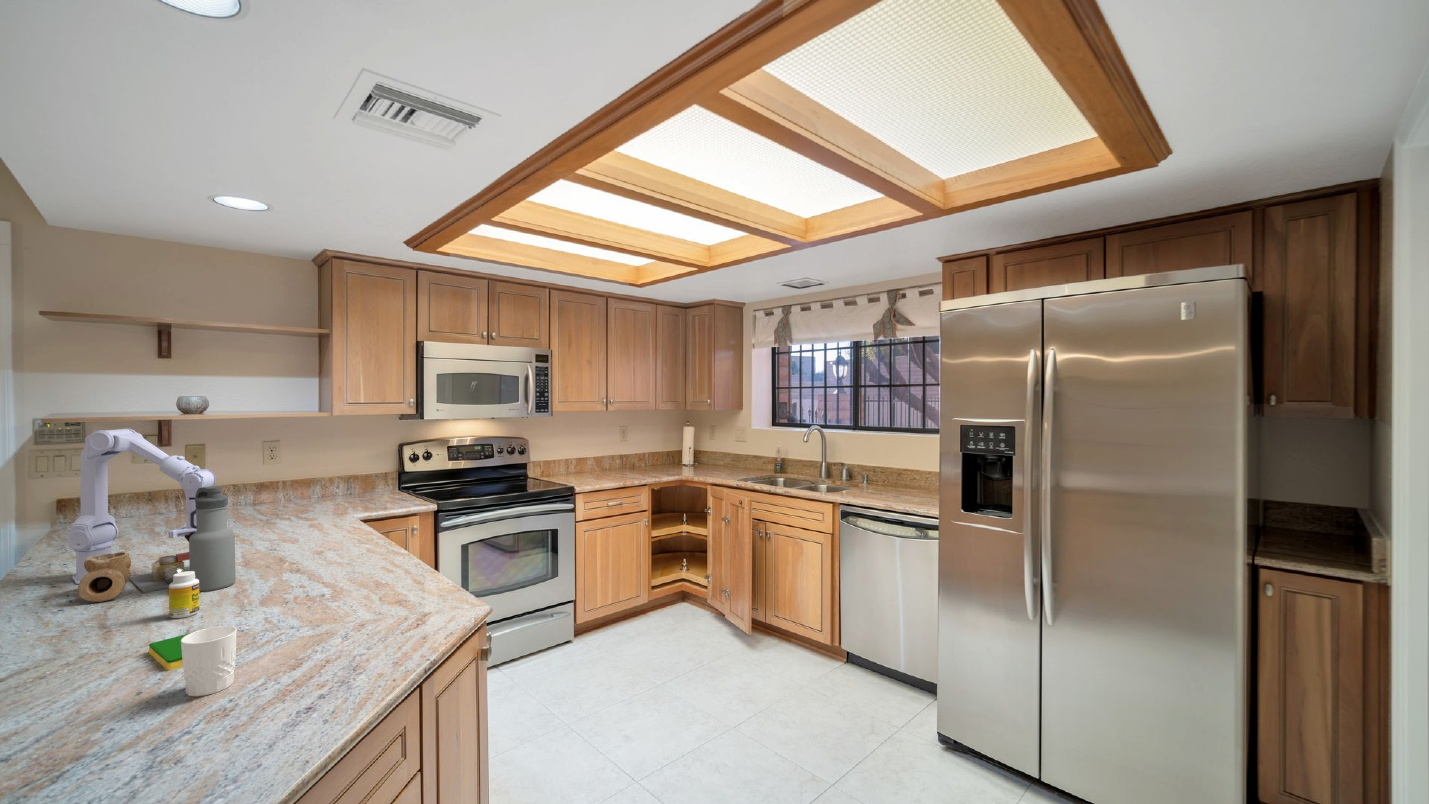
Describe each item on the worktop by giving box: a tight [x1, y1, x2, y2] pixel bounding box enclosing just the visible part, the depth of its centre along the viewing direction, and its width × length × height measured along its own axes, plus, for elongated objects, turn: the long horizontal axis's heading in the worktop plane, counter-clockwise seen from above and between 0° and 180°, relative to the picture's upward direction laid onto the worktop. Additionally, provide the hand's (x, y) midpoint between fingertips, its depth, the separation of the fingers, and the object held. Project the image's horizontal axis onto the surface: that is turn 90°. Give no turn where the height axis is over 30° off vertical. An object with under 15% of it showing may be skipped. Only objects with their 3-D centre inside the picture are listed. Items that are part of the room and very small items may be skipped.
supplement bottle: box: [168, 571, 201, 619], centre depth 145 cm, size 6×6×10 cm
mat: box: [129, 565, 190, 594], centre depth 173 cm, size 20×17×1 cm
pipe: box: [78, 551, 132, 603], centre depth 159 cm, size 9×16×10 cm, turn 39°
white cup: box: [181, 625, 238, 697], centre depth 110 cm, size 8×8×10 cm
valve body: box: [151, 559, 185, 585], centre depth 172 cm, size 16×6×5 cm, turn 53°
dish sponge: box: [148, 632, 192, 671], centre depth 123 cm, size 7×14×2 cm, turn 55°
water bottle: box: [188, 485, 237, 593], centre depth 165 cm, size 10×10×28 cm
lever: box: [158, 551, 189, 564], centre depth 175 cm, size 12×4×2 cm, turn 143°
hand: (199, 556), depth 176 cm, fingers closed
